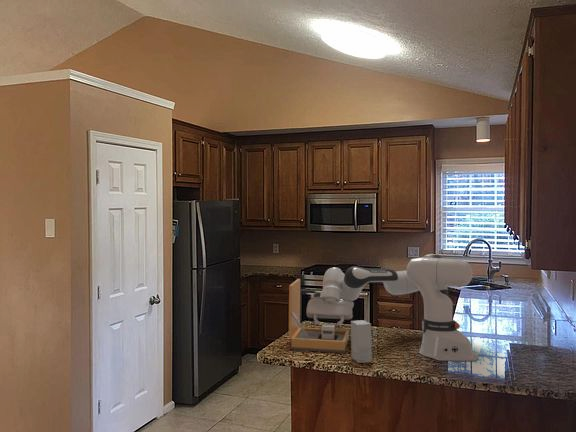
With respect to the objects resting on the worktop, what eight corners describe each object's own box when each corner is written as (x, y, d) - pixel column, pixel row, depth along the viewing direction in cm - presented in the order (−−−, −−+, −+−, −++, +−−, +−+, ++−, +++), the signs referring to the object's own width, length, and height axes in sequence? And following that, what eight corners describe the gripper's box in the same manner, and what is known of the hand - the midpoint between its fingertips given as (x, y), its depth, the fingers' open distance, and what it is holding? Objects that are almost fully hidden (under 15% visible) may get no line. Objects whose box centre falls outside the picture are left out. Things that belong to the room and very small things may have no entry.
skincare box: (372, 362, 197) (372, 324, 197) (357, 363, 196) (357, 324, 196) (364, 356, 205) (364, 319, 205) (349, 357, 204) (350, 319, 204)
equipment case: (348, 340, 230) (349, 280, 229) (344, 352, 210) (345, 287, 209) (297, 337, 234) (297, 278, 233) (288, 349, 214) (289, 285, 214)
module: (334, 341, 223) (334, 324, 223) (333, 344, 218) (333, 327, 218) (323, 340, 224) (323, 323, 224) (321, 344, 219) (321, 326, 219)
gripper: (354, 304, 231) (352, 331, 222) (309, 302, 235) (305, 328, 226) (353, 295, 227) (351, 323, 218) (307, 294, 231) (304, 320, 222)
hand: (327, 325), depth 222 cm, fingers open, 8 cm apart
